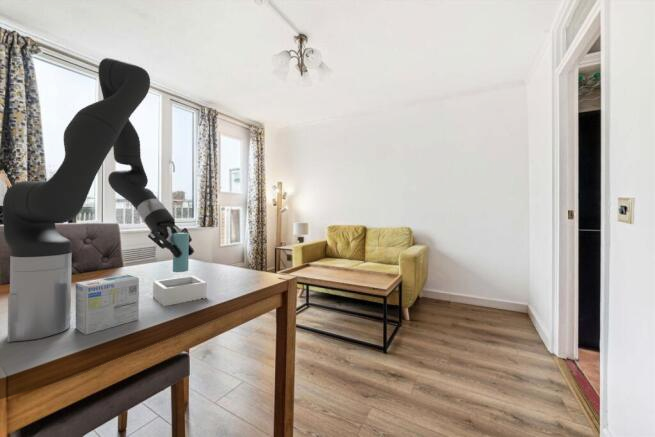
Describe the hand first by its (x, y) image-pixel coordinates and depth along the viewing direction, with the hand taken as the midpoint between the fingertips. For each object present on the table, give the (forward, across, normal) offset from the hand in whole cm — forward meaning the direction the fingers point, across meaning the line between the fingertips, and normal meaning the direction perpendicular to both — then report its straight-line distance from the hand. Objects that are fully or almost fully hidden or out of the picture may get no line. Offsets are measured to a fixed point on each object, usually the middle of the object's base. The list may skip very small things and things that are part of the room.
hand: (185, 254), depth 85 cm
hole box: (+8, 0, +11) cm, 14 cm away
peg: (+2, 0, +5) cm, 6 cm away
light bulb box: (+9, -22, +11) cm, 26 cm away
